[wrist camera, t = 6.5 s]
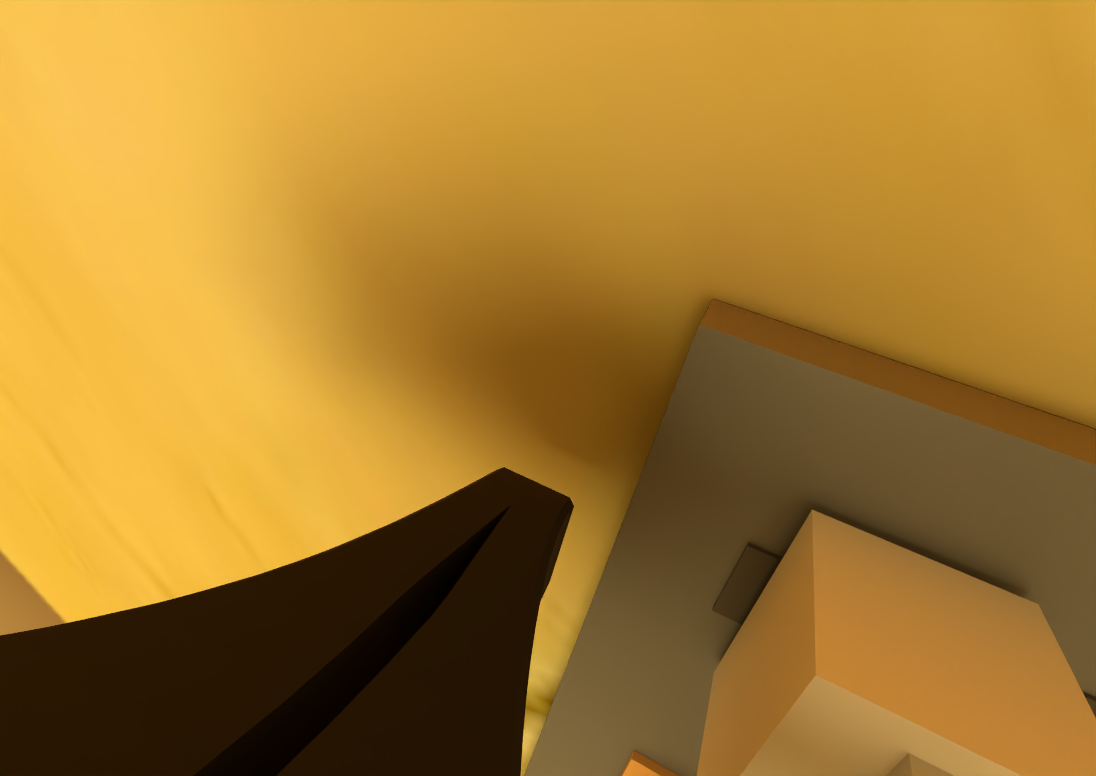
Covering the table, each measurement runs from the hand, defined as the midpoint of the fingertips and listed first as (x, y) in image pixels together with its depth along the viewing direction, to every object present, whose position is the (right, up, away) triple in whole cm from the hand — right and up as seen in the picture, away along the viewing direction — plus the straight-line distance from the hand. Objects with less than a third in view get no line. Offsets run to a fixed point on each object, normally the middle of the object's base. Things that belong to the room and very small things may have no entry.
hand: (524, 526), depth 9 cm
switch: (+5, -2, -1) cm, 5 cm away
